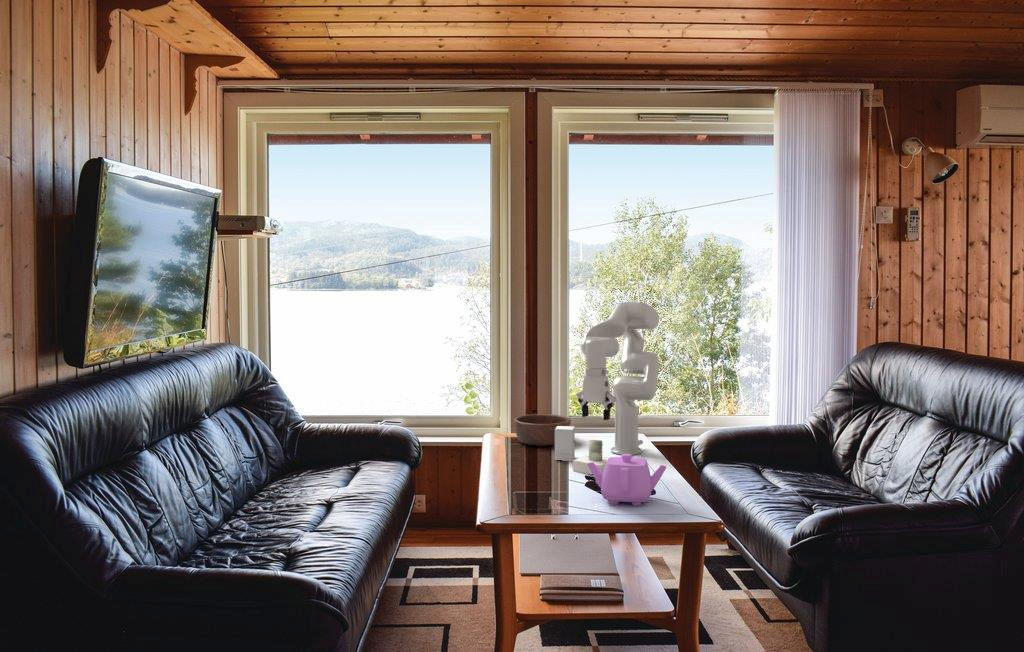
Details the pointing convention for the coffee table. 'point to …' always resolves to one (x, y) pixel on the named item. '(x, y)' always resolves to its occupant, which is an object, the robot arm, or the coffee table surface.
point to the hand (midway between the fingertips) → (595, 418)
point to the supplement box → (565, 443)
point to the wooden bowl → (539, 428)
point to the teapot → (626, 479)
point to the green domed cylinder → (595, 450)
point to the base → (582, 464)
